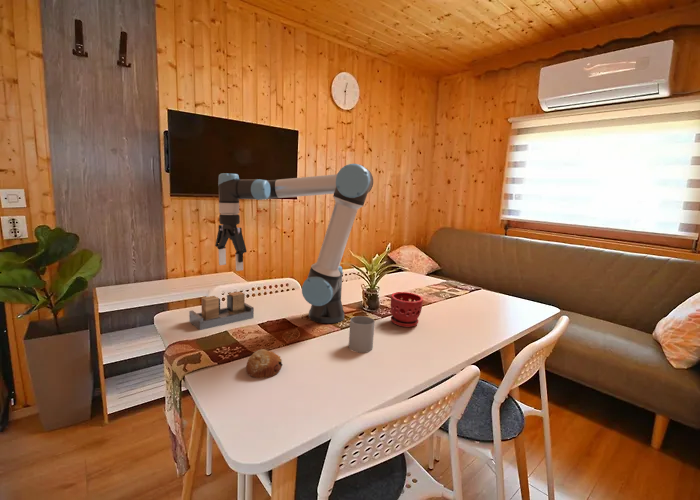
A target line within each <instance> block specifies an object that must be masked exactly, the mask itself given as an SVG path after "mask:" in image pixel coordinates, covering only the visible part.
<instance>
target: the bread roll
mask: <svg viewBox="0 0 700 500" xmlns="http://www.w3.org/2000/svg"><path fill="white" fill-rule="evenodd" d="M282 363H283V360H282V358H281V356H279V354H276V353H275V352H273V351H271V350H270V351H269V350H268V349H263V348H261V349H258V350H256V351H254V352H253V353H252V354H251V355H250V357H249V358H248V360H247V362H246V365H245V368H246V373H247V375H249V376H250V377H252V378H257V379H264V378H271V377H274V376H276V375H278V373H280V371H281V369H282V367H283V364H282Z"/></svg>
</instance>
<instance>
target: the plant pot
mask: <svg viewBox="0 0 700 500" xmlns="http://www.w3.org/2000/svg"><path fill="white" fill-rule="evenodd" d="M423 301H424V299H423V297H422V296H421V295H418V294H416V293H412V292H408V291H399V292H397V291H396V292H394V293H392V294H391V295H390V311H391V317H390V320H391V322H392V324H394V325H396V326H399V327H405V328H412V327H416V326H417V325H418V324H419V317H420V315H421V312H422V308H423Z"/></svg>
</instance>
